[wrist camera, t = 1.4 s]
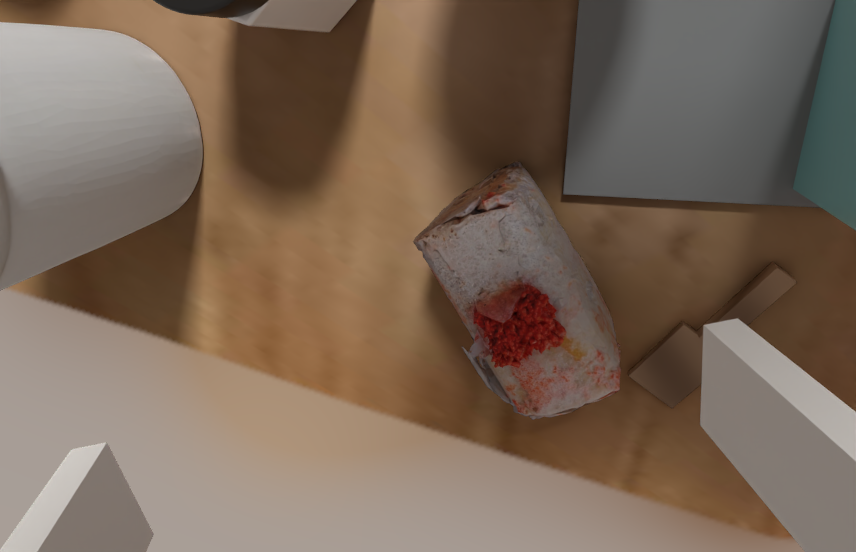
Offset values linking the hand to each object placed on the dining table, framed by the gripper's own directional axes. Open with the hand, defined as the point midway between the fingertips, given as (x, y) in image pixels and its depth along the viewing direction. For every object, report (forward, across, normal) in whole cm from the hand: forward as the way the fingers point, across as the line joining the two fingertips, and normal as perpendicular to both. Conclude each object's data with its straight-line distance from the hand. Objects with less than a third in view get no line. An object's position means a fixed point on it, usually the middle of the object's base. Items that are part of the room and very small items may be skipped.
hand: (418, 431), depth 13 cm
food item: (+24, +8, -8) cm, 26 cm away
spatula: (+20, +18, -12) cm, 29 cm away
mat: (+21, +19, +2) cm, 28 cm away
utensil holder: (+34, -18, +4) cm, 39 cm away
